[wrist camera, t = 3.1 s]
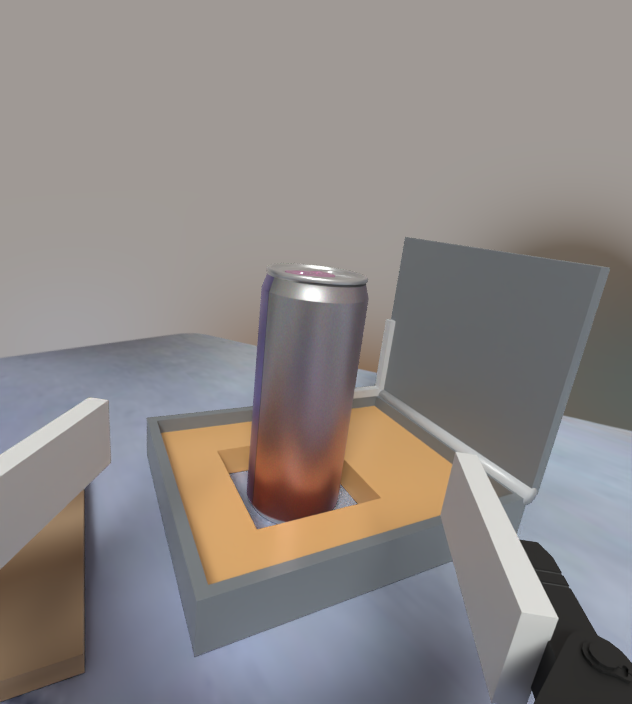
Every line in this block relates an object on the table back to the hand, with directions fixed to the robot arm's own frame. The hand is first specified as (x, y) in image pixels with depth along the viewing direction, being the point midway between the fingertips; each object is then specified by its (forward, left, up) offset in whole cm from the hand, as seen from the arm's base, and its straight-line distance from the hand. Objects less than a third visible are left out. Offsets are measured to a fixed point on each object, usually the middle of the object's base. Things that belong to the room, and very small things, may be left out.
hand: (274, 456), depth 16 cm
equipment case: (-8, +7, -9) cm, 14 cm away
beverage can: (-8, +5, -9) cm, 13 cm away
